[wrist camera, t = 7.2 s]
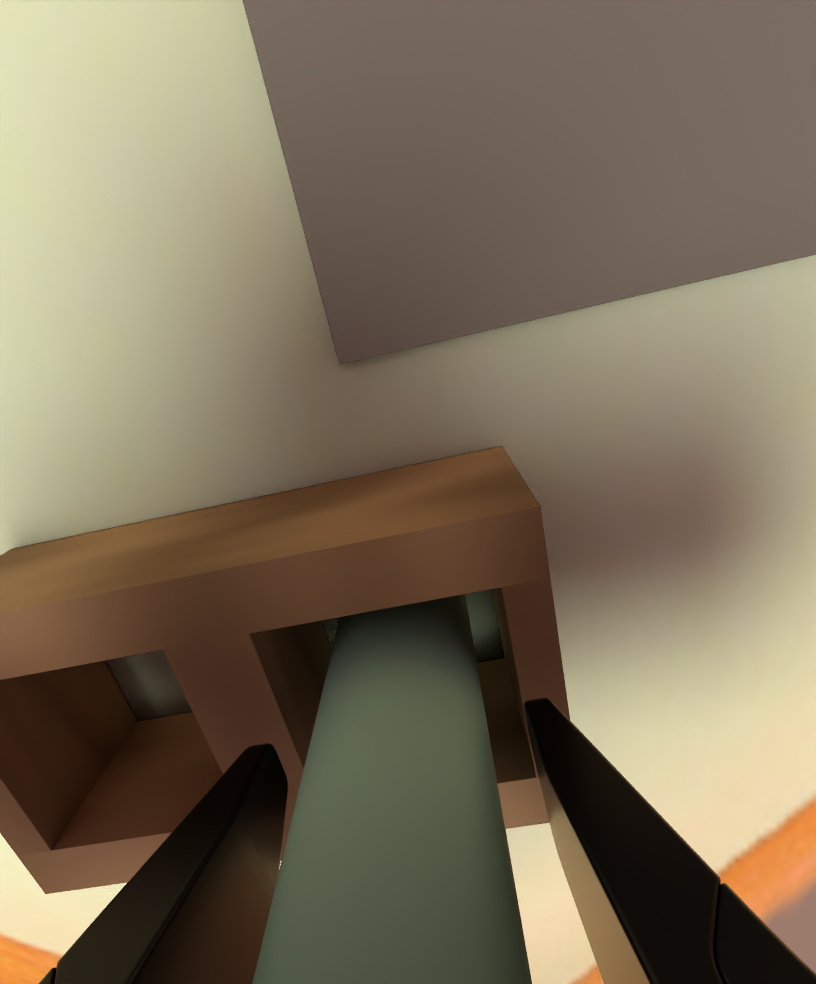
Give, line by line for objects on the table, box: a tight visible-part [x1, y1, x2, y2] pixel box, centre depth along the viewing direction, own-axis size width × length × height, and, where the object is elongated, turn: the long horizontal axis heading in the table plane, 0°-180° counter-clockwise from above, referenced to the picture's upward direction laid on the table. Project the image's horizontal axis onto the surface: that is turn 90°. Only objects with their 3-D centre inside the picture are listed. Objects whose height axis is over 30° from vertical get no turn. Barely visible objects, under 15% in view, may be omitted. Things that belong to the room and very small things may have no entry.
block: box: [0, 446, 570, 894], centre depth 11 cm, size 12×7×4 cm, turn 103°
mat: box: [243, 0, 816, 365], centre depth 9 cm, size 10×7×1 cm
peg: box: [252, 594, 532, 984], centre depth 8 cm, size 3×3×9 cm
